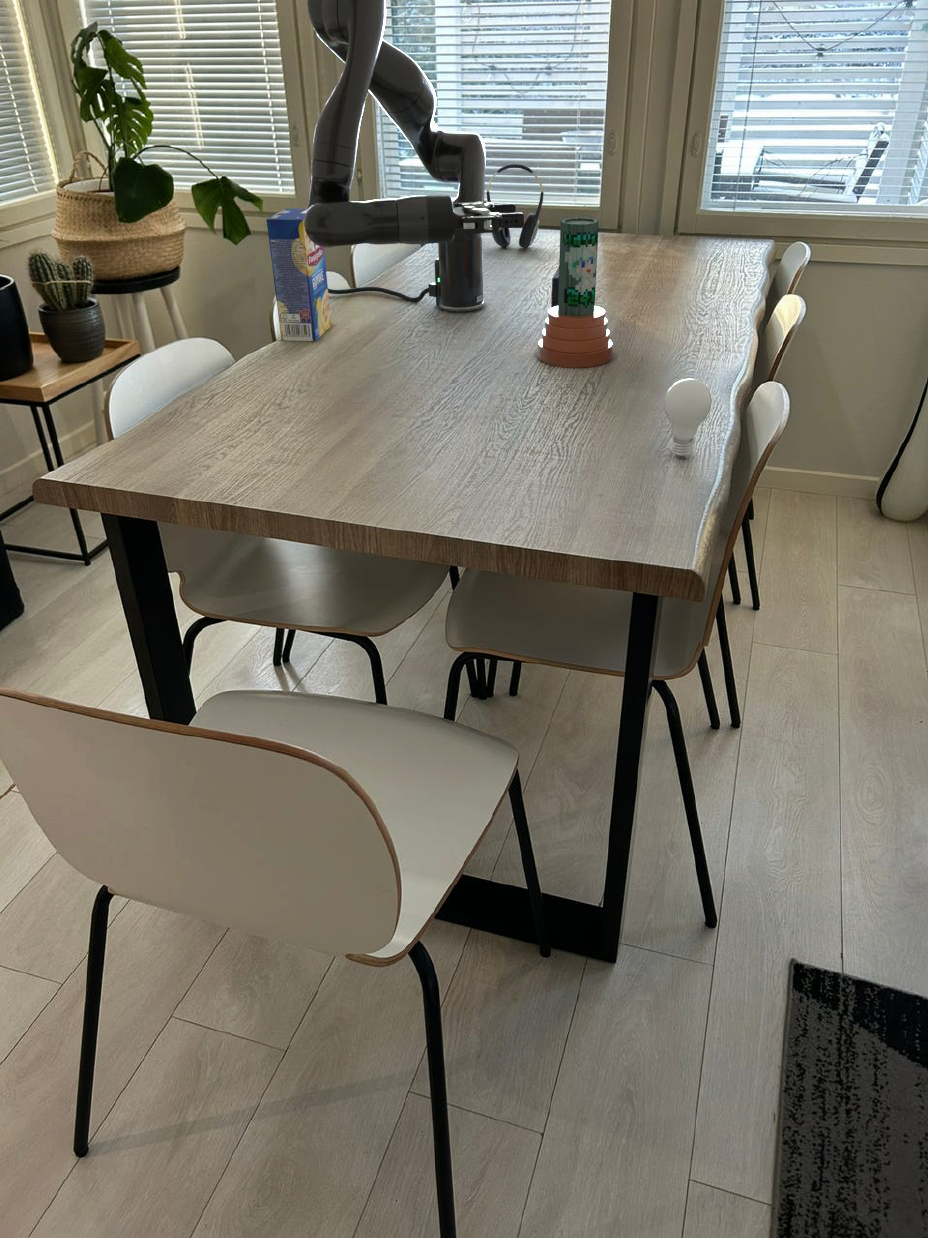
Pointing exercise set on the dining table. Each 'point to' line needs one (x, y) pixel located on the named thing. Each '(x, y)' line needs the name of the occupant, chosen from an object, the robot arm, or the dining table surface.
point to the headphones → (530, 223)
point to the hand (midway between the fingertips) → (519, 214)
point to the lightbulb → (686, 412)
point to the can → (577, 266)
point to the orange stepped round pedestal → (575, 340)
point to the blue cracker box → (298, 278)
